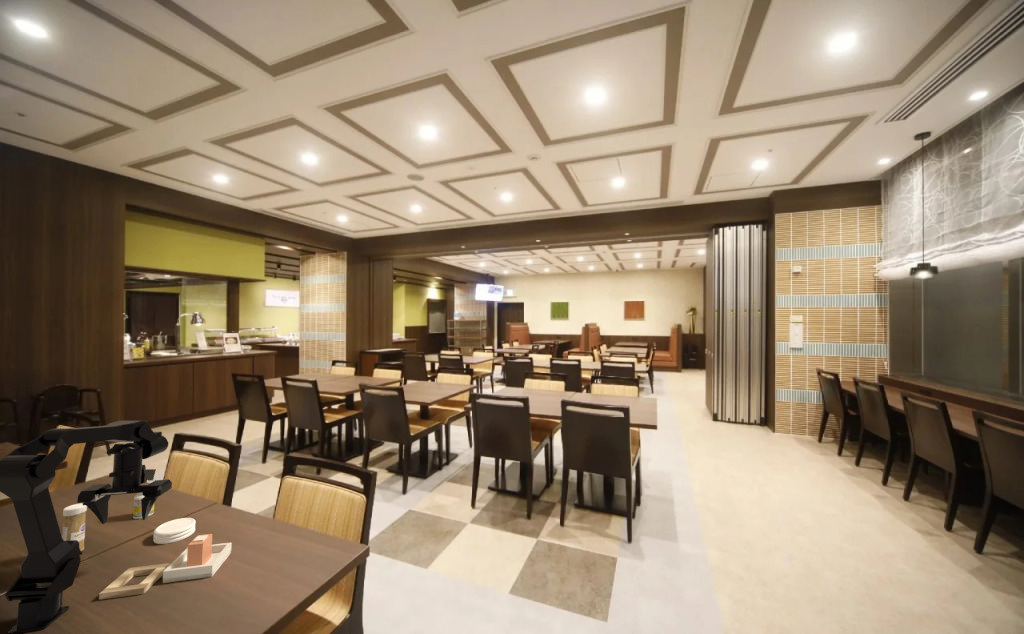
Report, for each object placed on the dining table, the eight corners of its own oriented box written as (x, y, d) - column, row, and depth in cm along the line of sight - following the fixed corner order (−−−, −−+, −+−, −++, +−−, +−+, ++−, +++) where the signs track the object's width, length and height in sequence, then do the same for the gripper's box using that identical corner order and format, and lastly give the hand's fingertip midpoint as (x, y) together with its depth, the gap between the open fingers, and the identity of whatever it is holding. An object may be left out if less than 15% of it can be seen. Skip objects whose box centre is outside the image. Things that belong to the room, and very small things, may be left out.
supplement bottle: (138, 520, 127) (139, 492, 127) (129, 517, 129) (130, 489, 129) (157, 513, 132) (159, 486, 132) (148, 510, 134) (150, 483, 134)
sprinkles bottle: (80, 554, 108) (83, 507, 109) (57, 559, 106) (60, 511, 106) (87, 546, 112) (89, 501, 113) (64, 550, 110) (67, 504, 110)
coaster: (201, 532, 121) (202, 521, 121) (163, 548, 112) (163, 536, 112) (185, 525, 125) (185, 514, 125) (146, 540, 116) (147, 528, 116)
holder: (143, 593, 93) (144, 587, 93) (99, 599, 91) (99, 593, 91) (169, 568, 103) (169, 563, 103) (129, 573, 100) (129, 567, 100)
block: (201, 567, 102) (202, 542, 102) (186, 569, 101) (187, 543, 101) (211, 557, 107) (212, 532, 107) (196, 558, 106) (198, 533, 106)
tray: (211, 576, 100) (212, 565, 100) (162, 583, 97) (163, 571, 97) (231, 552, 110) (231, 542, 110) (187, 557, 107) (187, 547, 108)
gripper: (184, 453, 115) (181, 504, 115) (109, 457, 110) (106, 511, 110) (160, 466, 104) (157, 523, 104) (76, 472, 99) (73, 531, 99)
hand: (124, 521), depth 104 cm, fingers open, 9 cm apart
